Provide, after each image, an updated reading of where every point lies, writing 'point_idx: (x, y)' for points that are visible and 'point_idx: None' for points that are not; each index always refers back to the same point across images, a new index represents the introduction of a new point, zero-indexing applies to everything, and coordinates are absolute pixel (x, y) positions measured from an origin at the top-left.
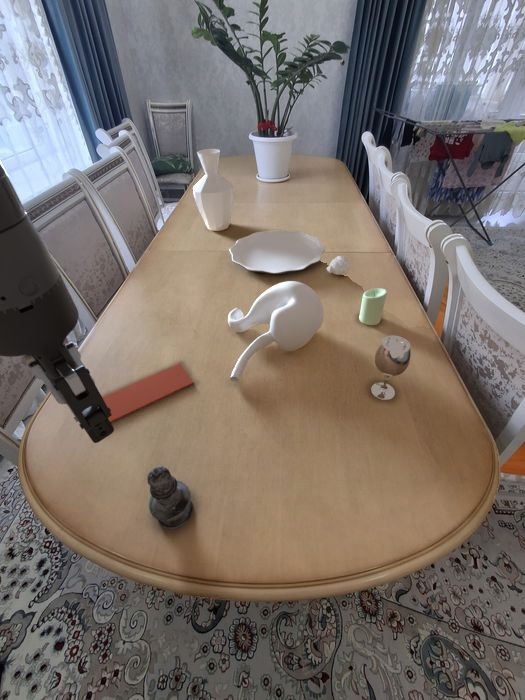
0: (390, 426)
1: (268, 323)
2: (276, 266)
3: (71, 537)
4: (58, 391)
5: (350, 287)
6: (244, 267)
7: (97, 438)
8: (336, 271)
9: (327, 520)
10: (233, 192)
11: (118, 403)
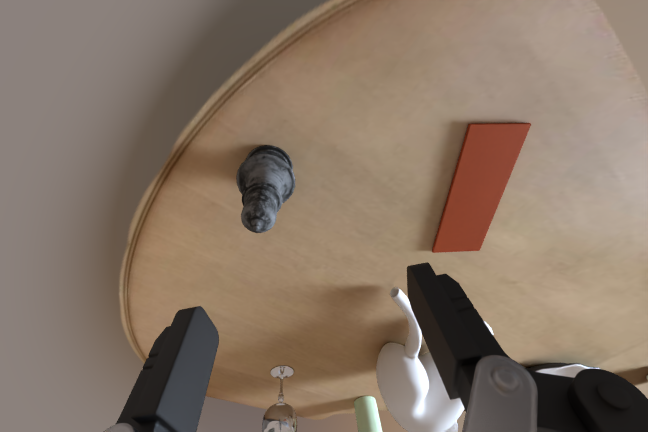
0: (245, 359)
1: None
2: None
3: (311, 18)
4: (418, 289)
5: None
6: (549, 368)
7: (152, 347)
8: None
9: (183, 285)
10: None
11: (489, 156)
